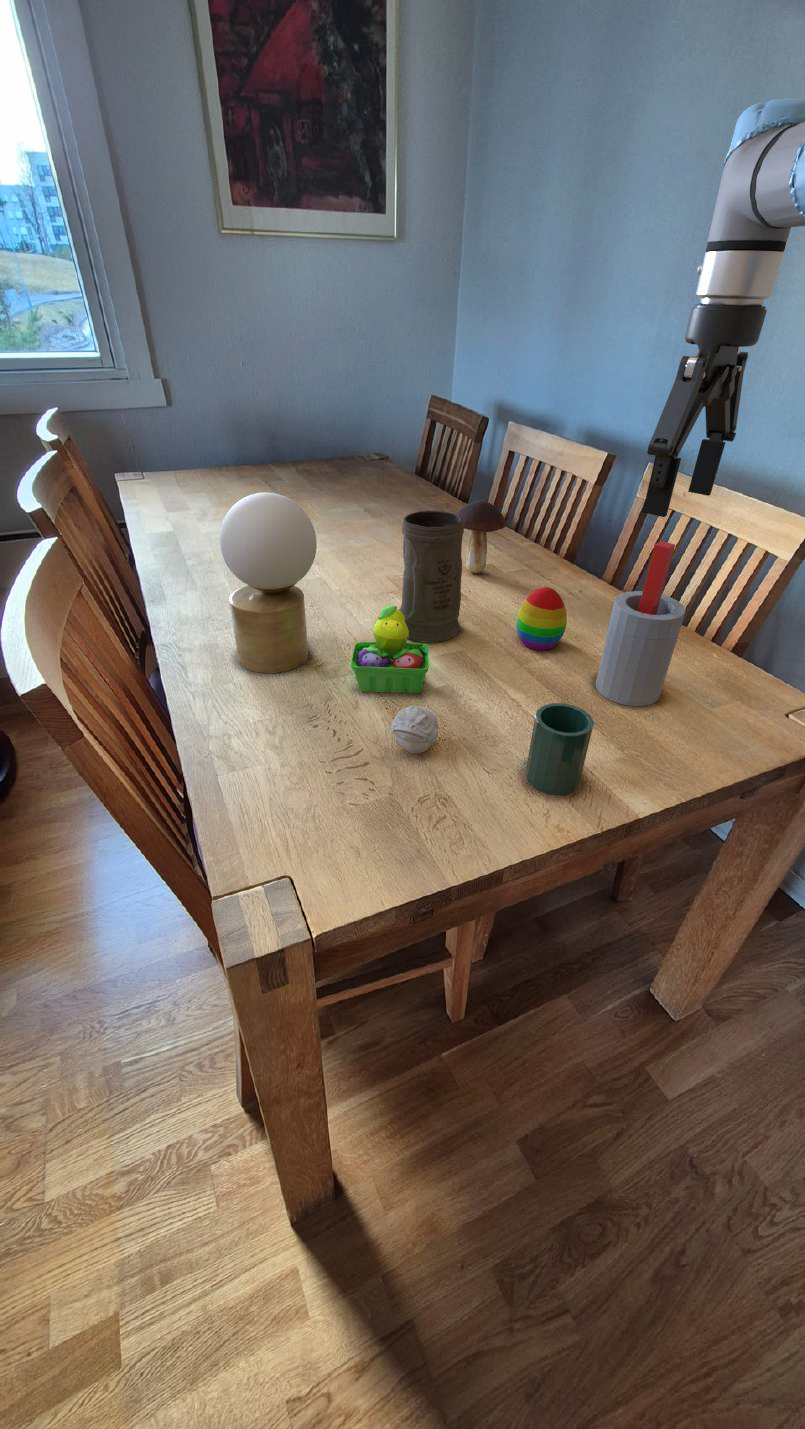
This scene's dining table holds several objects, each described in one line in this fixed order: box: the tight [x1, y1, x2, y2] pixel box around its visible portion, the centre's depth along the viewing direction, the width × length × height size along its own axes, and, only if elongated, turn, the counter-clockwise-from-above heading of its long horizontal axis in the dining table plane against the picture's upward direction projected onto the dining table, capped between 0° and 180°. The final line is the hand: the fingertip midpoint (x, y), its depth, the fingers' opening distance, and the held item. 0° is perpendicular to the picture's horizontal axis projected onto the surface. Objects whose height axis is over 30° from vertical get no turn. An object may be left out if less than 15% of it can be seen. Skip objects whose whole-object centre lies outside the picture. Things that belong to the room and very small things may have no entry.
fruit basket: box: [350, 605, 430, 694], centre depth 93 cm, size 11×9×11 cm
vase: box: [595, 590, 687, 707], centre depth 91 cm, size 9×9×14 cm
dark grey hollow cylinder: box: [399, 510, 465, 643], centre depth 107 cm, size 15×11×20 cm
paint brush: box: [638, 540, 676, 615], centre depth 89 cm, size 3×3×22 cm
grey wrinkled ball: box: [390, 705, 439, 754], centre depth 80 cm, size 6×7×7 cm
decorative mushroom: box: [455, 499, 507, 574], centre depth 128 cm, size 11×11×15 cm
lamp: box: [219, 492, 318, 674], centre depth 96 cm, size 15×14×25 cm
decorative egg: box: [516, 586, 568, 651], centre depth 104 cm, size 8×8×10 cm
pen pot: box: [525, 702, 595, 796], centre depth 75 cm, size 7×7×9 cm
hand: (677, 503), depth 79 cm, fingers open, 13 cm apart
